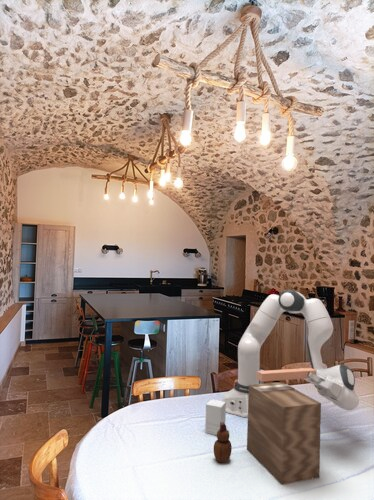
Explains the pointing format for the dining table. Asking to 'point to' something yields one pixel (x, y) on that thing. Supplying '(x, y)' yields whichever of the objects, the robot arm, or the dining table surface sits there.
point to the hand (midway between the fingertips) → (305, 372)
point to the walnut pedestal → (284, 431)
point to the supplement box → (214, 416)
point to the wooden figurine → (222, 444)
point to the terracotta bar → (284, 374)
